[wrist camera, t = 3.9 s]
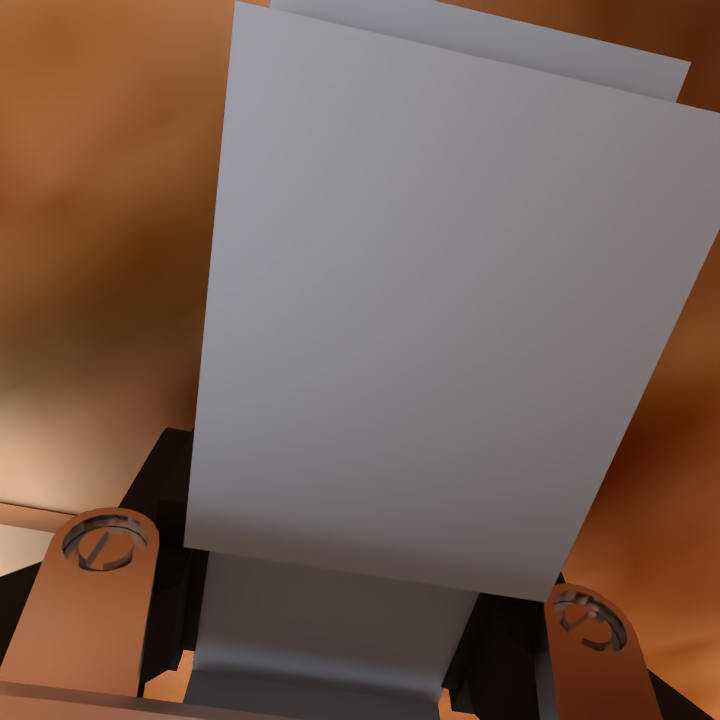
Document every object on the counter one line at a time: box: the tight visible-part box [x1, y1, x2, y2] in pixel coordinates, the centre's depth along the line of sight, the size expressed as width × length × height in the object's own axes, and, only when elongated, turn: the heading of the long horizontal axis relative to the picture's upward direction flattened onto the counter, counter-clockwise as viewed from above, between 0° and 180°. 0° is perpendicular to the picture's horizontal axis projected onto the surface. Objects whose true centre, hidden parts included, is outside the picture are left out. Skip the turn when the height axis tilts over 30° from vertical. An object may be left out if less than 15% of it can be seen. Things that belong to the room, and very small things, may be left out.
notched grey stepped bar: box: [183, 0, 720, 720], centre depth 10 cm, size 16×4×6 cm, turn 169°
